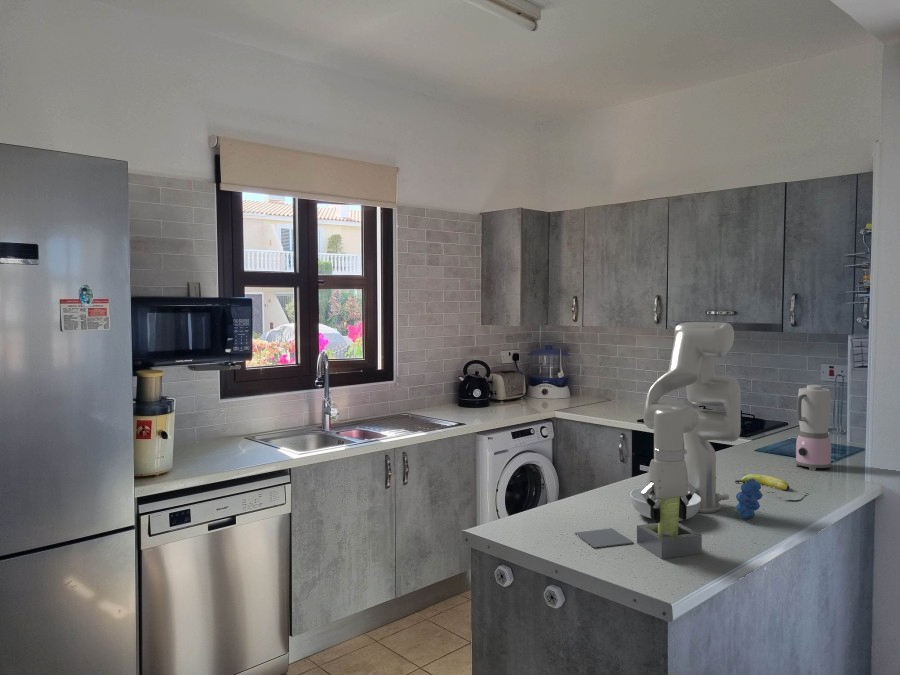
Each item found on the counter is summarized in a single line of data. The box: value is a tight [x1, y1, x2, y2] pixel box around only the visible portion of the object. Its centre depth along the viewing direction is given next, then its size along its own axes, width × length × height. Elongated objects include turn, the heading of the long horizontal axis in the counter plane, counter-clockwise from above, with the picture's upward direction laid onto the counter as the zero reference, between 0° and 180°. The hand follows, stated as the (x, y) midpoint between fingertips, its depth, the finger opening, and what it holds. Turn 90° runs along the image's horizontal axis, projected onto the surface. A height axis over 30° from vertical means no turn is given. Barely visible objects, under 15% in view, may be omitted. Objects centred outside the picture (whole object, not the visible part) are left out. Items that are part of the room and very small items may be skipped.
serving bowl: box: [629, 486, 701, 522], centre depth 208 cm, size 21×21×7 cm
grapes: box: [735, 478, 763, 520], centre depth 206 cm, size 12×7×12 cm, turn 125°
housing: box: [636, 522, 703, 560], centre depth 182 cm, size 12×12×5 cm
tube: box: [658, 497, 680, 537], centre depth 182 cm, size 6×5×20 cm
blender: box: [795, 384, 832, 471], centre depth 263 cm, size 16×12×32 cm
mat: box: [574, 527, 634, 549], centre depth 190 cm, size 12×12×1 cm
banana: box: [734, 473, 813, 495], centre depth 240 cm, size 35×27×4 cm
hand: (668, 519), depth 182 cm, fingers open, 7 cm apart
